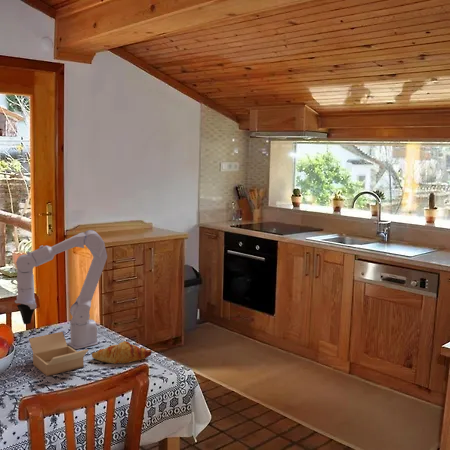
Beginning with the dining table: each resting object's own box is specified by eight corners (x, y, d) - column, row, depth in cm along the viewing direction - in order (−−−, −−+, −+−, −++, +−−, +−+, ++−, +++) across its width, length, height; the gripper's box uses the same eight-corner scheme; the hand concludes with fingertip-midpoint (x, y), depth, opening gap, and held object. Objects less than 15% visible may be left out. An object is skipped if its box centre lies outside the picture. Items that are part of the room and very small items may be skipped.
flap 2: (88, 349, 184) (88, 350, 184) (82, 356, 188) (82, 357, 188) (53, 357, 176) (53, 358, 176) (47, 364, 180) (48, 365, 180)
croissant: (91, 372, 193) (89, 357, 188) (93, 350, 201) (91, 335, 196) (151, 369, 195) (151, 354, 190) (152, 347, 203) (151, 333, 198)
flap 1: (67, 345, 197) (67, 346, 197) (62, 331, 200) (61, 332, 200) (34, 353, 189) (33, 354, 190) (29, 338, 192) (28, 339, 192)
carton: (68, 356, 198) (68, 345, 197) (83, 366, 189) (83, 355, 188) (33, 365, 189) (32, 353, 189) (46, 376, 180) (46, 364, 180)
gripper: (7, 285, 202) (9, 320, 204) (21, 293, 191) (23, 330, 193) (26, 282, 207) (28, 317, 209) (41, 290, 196) (42, 326, 198)
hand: (27, 323), depth 201 cm, fingers closed
